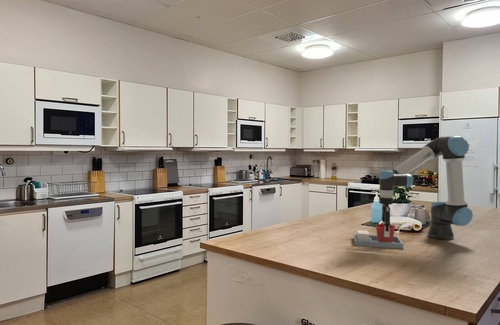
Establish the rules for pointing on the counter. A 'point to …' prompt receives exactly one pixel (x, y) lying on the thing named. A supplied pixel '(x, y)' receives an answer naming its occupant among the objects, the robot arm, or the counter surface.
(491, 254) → the counter surface
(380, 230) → the flower pot
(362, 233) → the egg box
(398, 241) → the grey tray
